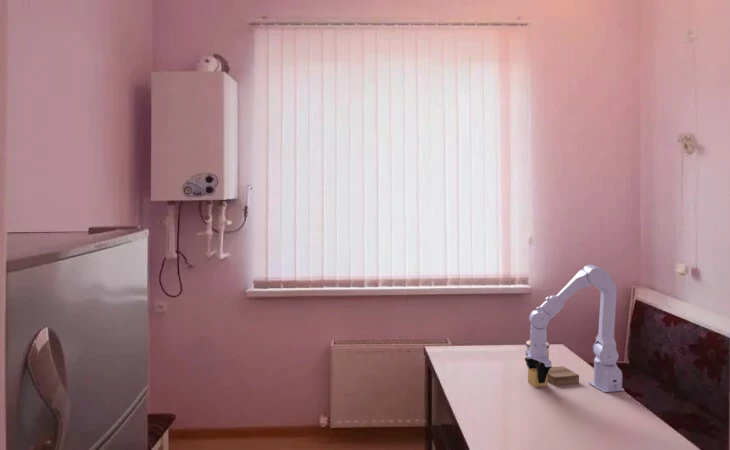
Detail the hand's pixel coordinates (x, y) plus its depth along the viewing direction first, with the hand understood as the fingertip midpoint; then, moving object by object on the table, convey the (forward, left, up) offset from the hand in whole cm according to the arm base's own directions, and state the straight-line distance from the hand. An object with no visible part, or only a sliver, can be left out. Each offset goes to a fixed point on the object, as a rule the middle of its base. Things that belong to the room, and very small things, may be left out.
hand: (537, 379), depth 196 cm
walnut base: (+2, -10, -1) cm, 10 cm away
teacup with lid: (+20, -11, -2) cm, 23 cm away
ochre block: (0, 0, -1) cm, 1 cm away
